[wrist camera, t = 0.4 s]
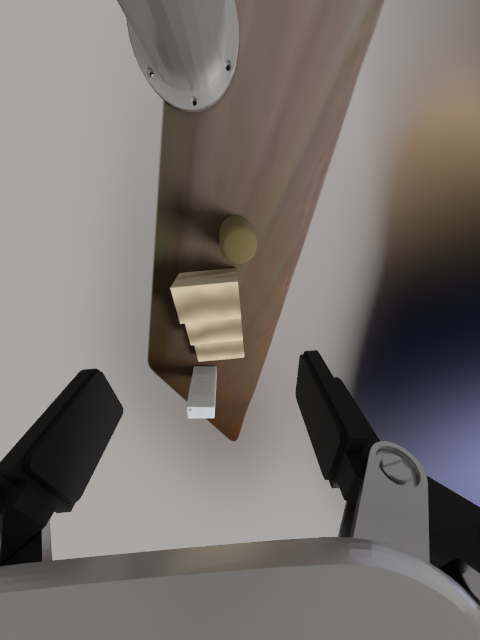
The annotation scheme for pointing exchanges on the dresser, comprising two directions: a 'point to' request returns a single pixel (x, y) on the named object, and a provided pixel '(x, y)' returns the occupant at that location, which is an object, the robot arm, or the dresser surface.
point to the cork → (237, 239)
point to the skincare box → (202, 392)
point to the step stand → (210, 312)
